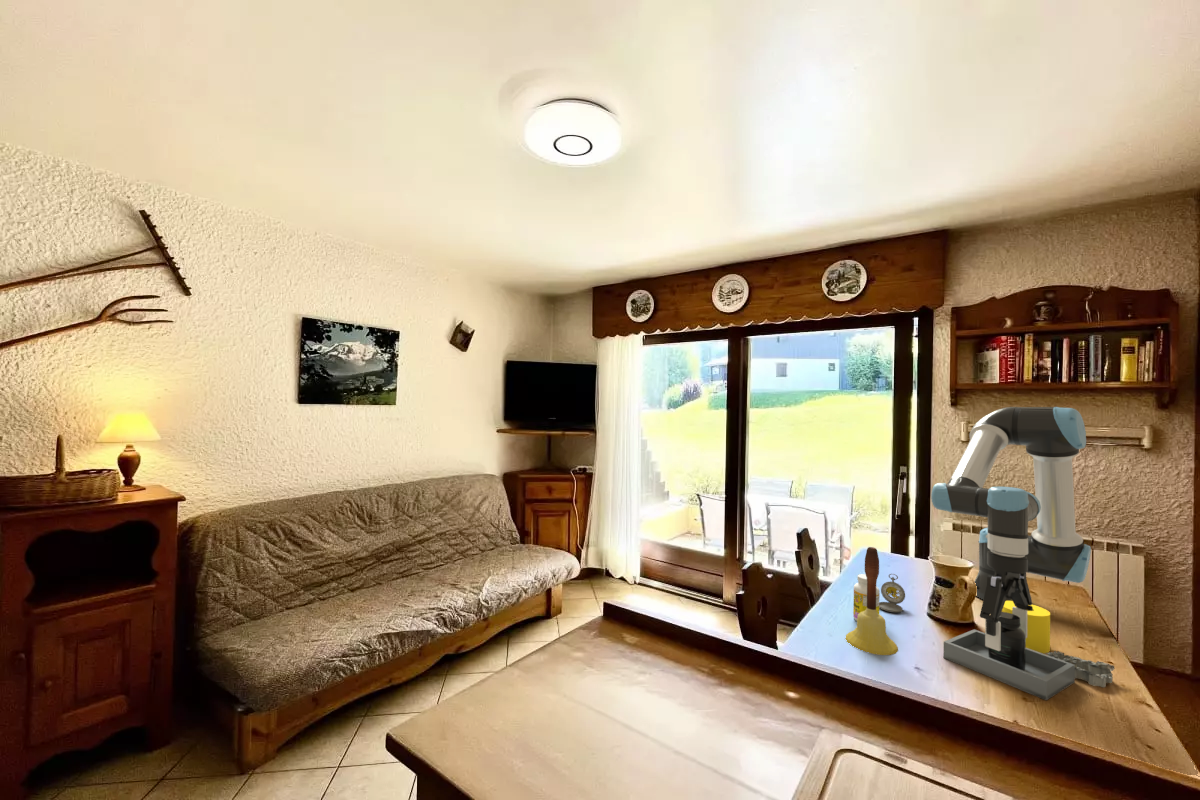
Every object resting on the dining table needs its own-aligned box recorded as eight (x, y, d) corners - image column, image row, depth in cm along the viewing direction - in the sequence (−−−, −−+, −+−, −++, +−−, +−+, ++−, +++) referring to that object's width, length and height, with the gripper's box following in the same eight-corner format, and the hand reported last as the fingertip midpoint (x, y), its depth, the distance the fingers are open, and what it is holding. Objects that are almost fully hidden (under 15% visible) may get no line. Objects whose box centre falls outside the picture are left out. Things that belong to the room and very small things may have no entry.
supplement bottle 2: (1002, 657, 122) (1003, 608, 122) (1033, 671, 115) (1033, 620, 115) (981, 660, 120) (981, 610, 120) (1010, 675, 113) (1010, 622, 114)
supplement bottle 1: (851, 614, 148) (852, 571, 148) (876, 618, 145) (877, 574, 145) (855, 623, 141) (855, 578, 141) (881, 627, 139) (881, 582, 139)
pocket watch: (882, 612, 149) (882, 579, 150) (872, 602, 158) (872, 570, 158) (911, 615, 148) (912, 581, 148) (900, 604, 156) (900, 572, 156)
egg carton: (1118, 684, 113) (1118, 666, 113) (1099, 690, 110) (1100, 672, 110) (1060, 661, 122) (1060, 644, 122) (1042, 666, 120) (1042, 649, 120)
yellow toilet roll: (1016, 633, 137) (1017, 599, 137) (1059, 650, 128) (1059, 613, 128) (991, 637, 134) (991, 602, 134) (1032, 655, 125) (1033, 618, 125)
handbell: (842, 629, 137) (843, 539, 138) (892, 637, 133) (893, 544, 134) (848, 649, 126) (849, 551, 126) (903, 659, 122) (904, 557, 122)
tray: (973, 644, 130) (974, 629, 130) (1074, 682, 112) (1074, 664, 112) (943, 657, 123) (943, 641, 123) (1046, 700, 105) (1046, 681, 105)
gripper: (1012, 542, 127) (1011, 624, 127) (962, 555, 115) (961, 646, 115) (1049, 549, 121) (1049, 636, 120) (1001, 565, 109) (1000, 661, 108)
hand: (1006, 641), depth 118 cm, fingers open, 13 cm apart
